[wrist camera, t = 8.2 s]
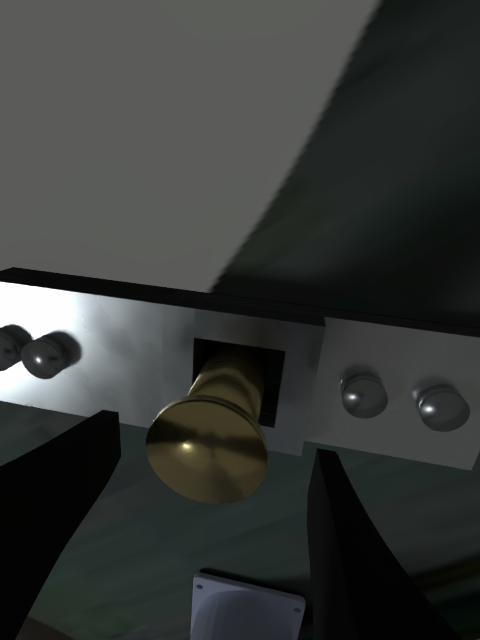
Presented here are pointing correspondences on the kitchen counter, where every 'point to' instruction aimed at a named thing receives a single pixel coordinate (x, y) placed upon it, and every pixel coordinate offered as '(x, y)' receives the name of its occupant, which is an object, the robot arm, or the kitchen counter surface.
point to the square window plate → (388, 384)
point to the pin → (215, 429)
